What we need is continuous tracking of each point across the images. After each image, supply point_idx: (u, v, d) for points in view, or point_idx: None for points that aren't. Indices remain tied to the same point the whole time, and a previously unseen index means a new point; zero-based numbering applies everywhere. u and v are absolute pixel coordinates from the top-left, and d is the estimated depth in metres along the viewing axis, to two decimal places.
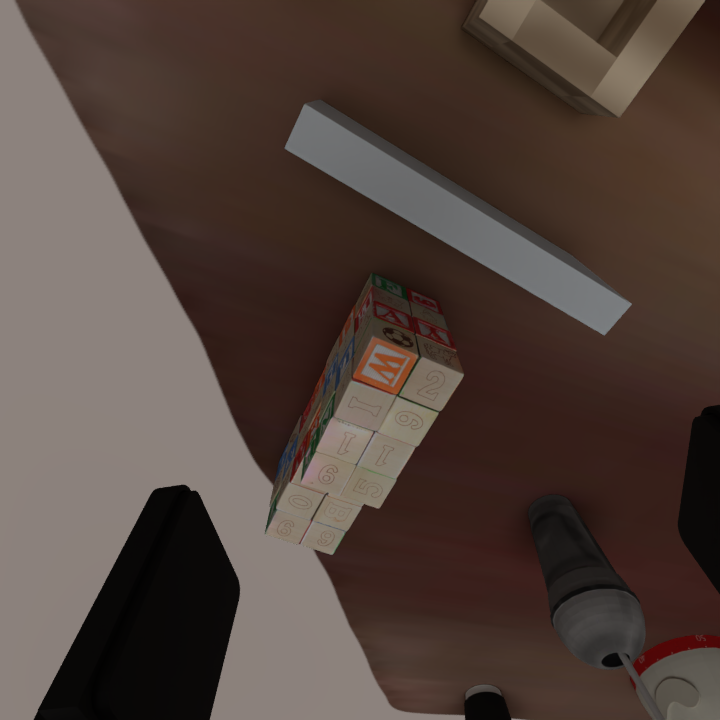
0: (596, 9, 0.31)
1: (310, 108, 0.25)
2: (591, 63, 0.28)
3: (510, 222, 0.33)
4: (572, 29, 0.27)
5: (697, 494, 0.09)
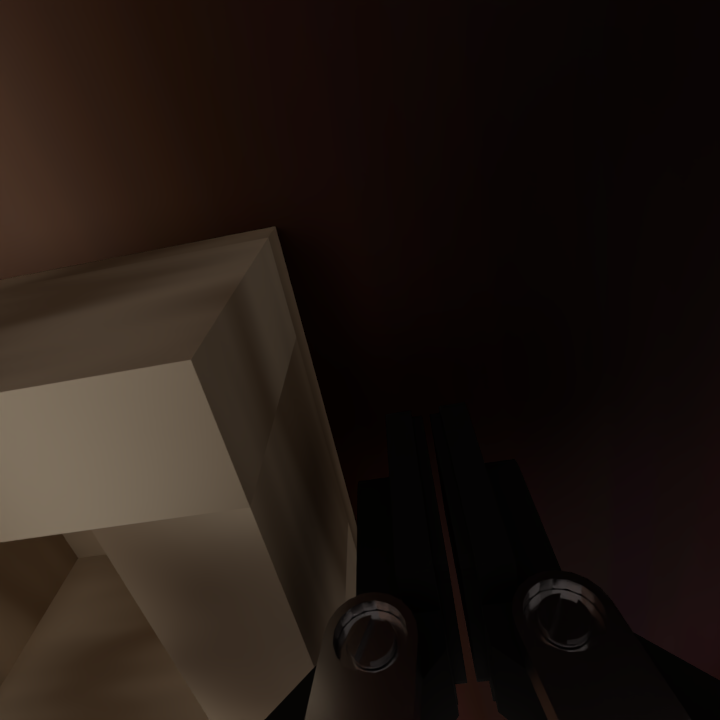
0: None
1: None
2: None
3: None
4: None
5: (440, 481, 0.10)
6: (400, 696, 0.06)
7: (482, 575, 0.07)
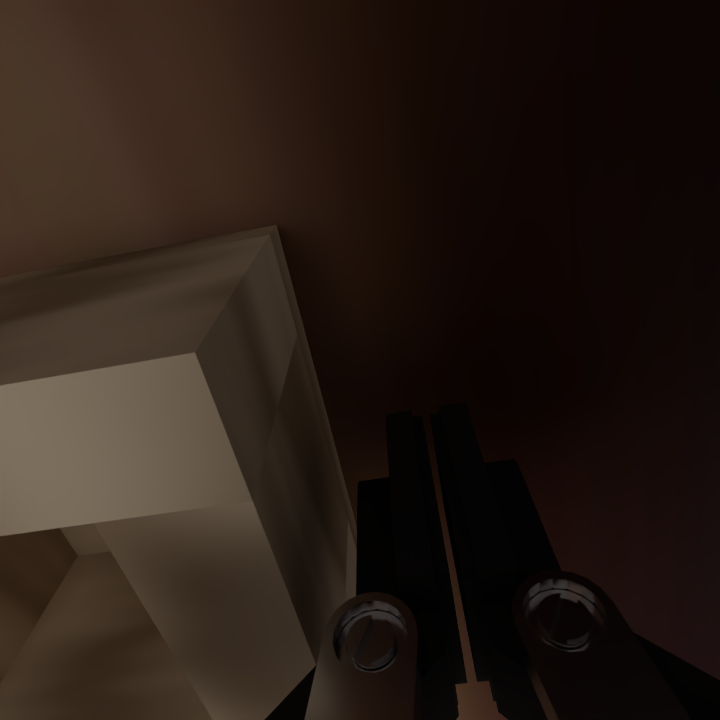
0: None
1: None
2: None
3: None
4: None
5: (440, 481, 0.10)
6: (401, 696, 0.06)
7: (482, 575, 0.07)
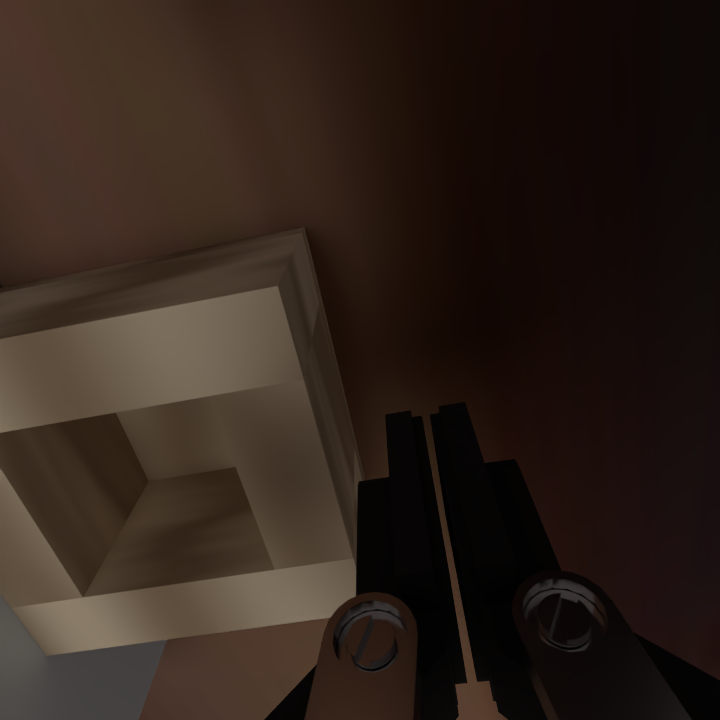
0: (204, 444, 0.18)
1: None
2: (35, 575, 0.14)
3: None
4: (24, 518, 0.13)
5: (440, 480, 0.10)
6: (401, 696, 0.06)
7: (482, 575, 0.07)
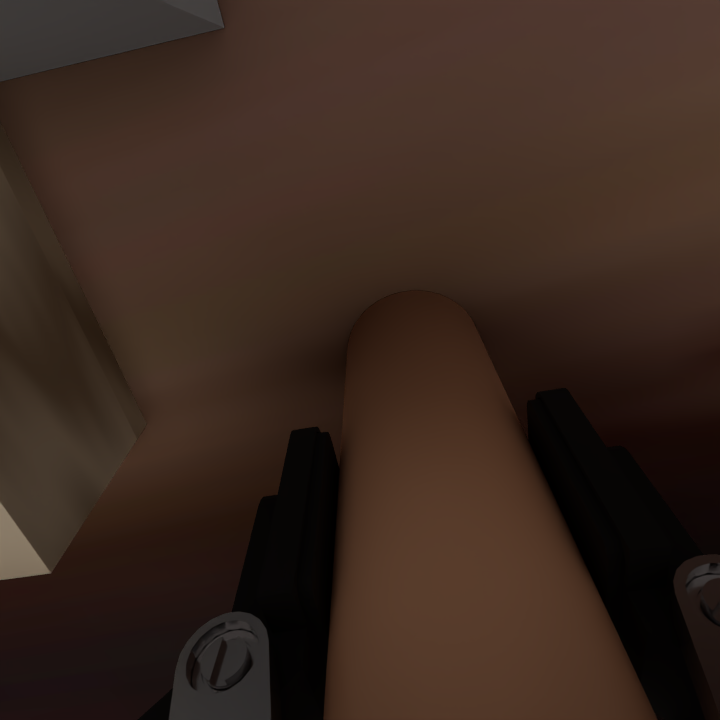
0: None
1: None
2: None
3: None
4: None
5: None
6: (258, 700, 0.06)
7: (632, 560, 0.06)
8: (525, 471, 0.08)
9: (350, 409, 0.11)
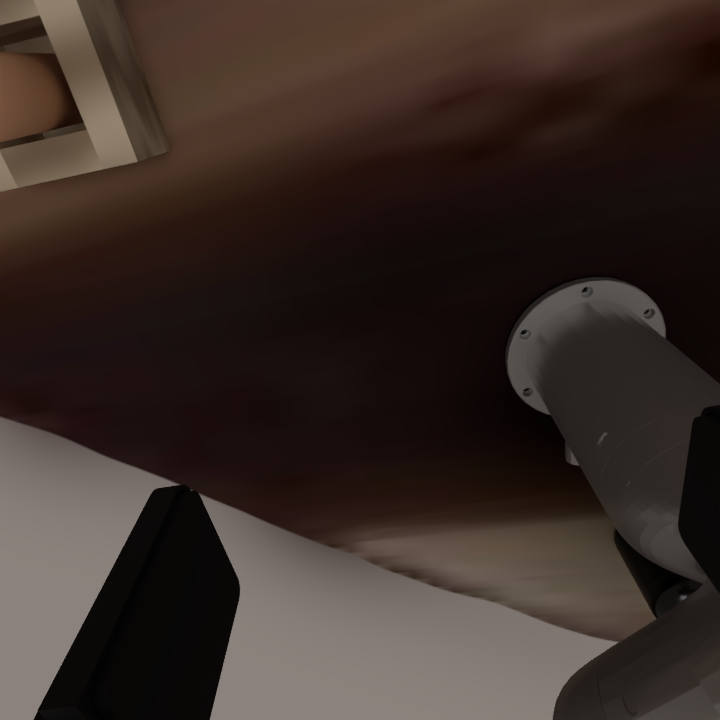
0: None
1: None
2: None
3: None
4: None
5: (697, 494, 0.09)
6: None
7: None
8: (12, 60, 0.25)
9: None
